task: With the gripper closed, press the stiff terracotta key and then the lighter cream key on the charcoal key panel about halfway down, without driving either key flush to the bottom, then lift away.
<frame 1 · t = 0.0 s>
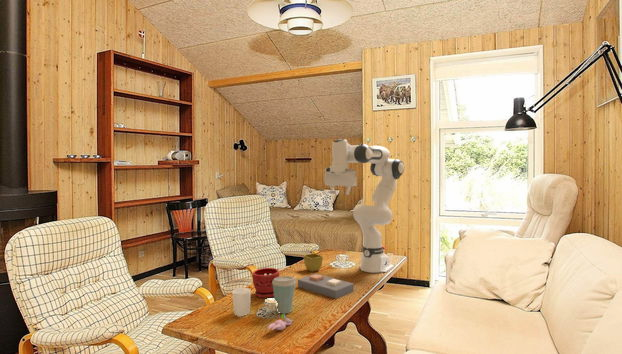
hand: (340, 194, 205), 48 cm above the table, tool pointing down, fingers open, 8 cm apart
flower pot: (313, 270, 228), on the table
plant pot: (266, 295, 186), on the table
disposable coffee cup: (284, 311, 165), on the table
white cup: (241, 313, 163), on the table
key panel: (325, 289, 194), on the table
pink flower: (280, 329, 147), on the table
cream key: (334, 283, 190), point 4 cm above the table, slide at 0.0 cm
terracotta key: (316, 279, 198), point 4 cm above the table, slide at 0.0 cm
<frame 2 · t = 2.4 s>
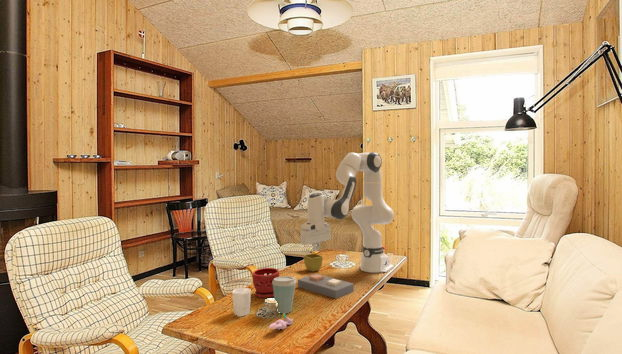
hand: (316, 250, 197), 19 cm above the table, tool pointing down, fingers closed
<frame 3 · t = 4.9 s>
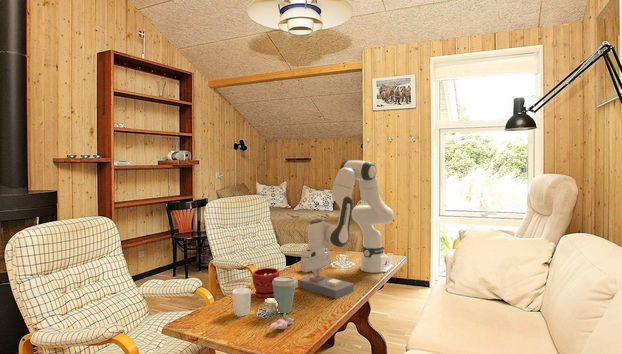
hand: (316, 276, 198), 5 cm above the table, tool pointing down, fingers closed, pressing on terracotta key
terracotta key: (316, 279, 198), point 4 cm above the table, slide at 0.3 cm, touching gripper
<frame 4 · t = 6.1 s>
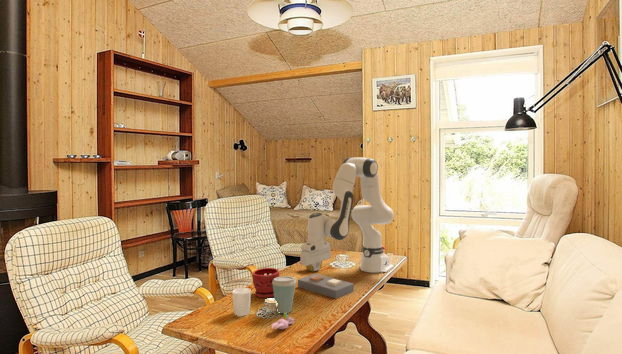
hand: (316, 270, 198), 9 cm above the table, tool pointing down, fingers closed
terracotta key: (316, 280, 198), point 3 cm above the table, slide at 0.7 cm
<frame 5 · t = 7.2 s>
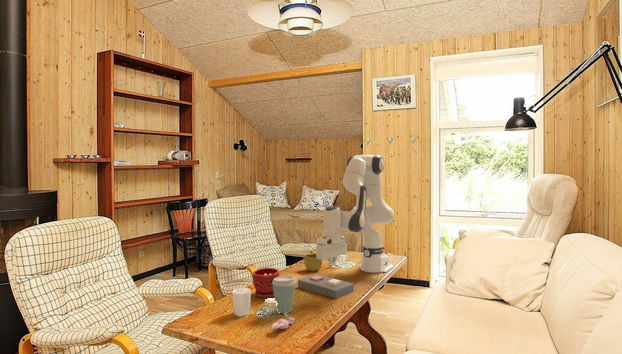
hand: (332, 265, 190), 13 cm above the table, tool pointing down, fingers closed
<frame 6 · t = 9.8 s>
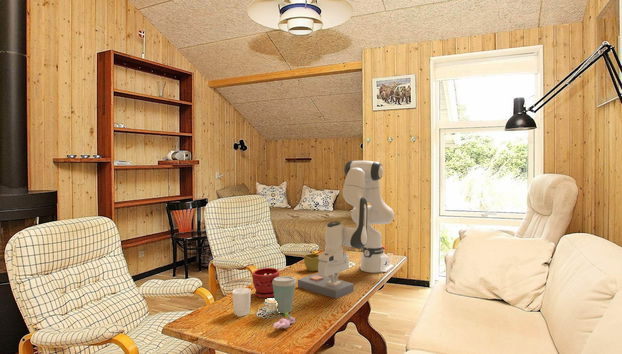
hand: (334, 281, 190), 5 cm above the table, tool pointing down, fingers closed, pressing on cream key
cream key: (334, 284, 190), point 4 cm above the table, slide at 0.4 cm, touching gripper
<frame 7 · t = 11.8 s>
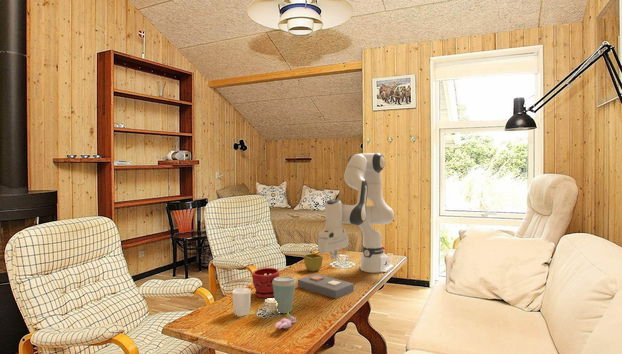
hand: (334, 258, 191), 16 cm above the table, tool pointing down, fingers closed
cream key: (334, 285, 190), point 3 cm above the table, slide at 0.7 cm
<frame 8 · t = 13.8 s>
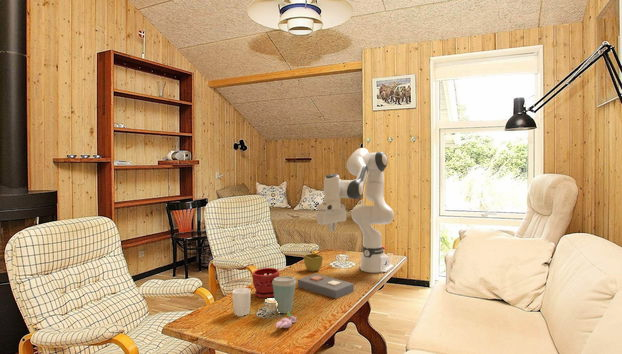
hand: (332, 231, 197), 29 cm above the table, tool pointing down, fingers closed
at the end: terracotta key slide at 0.7 cm; cream key slide at 0.7 cm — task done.
